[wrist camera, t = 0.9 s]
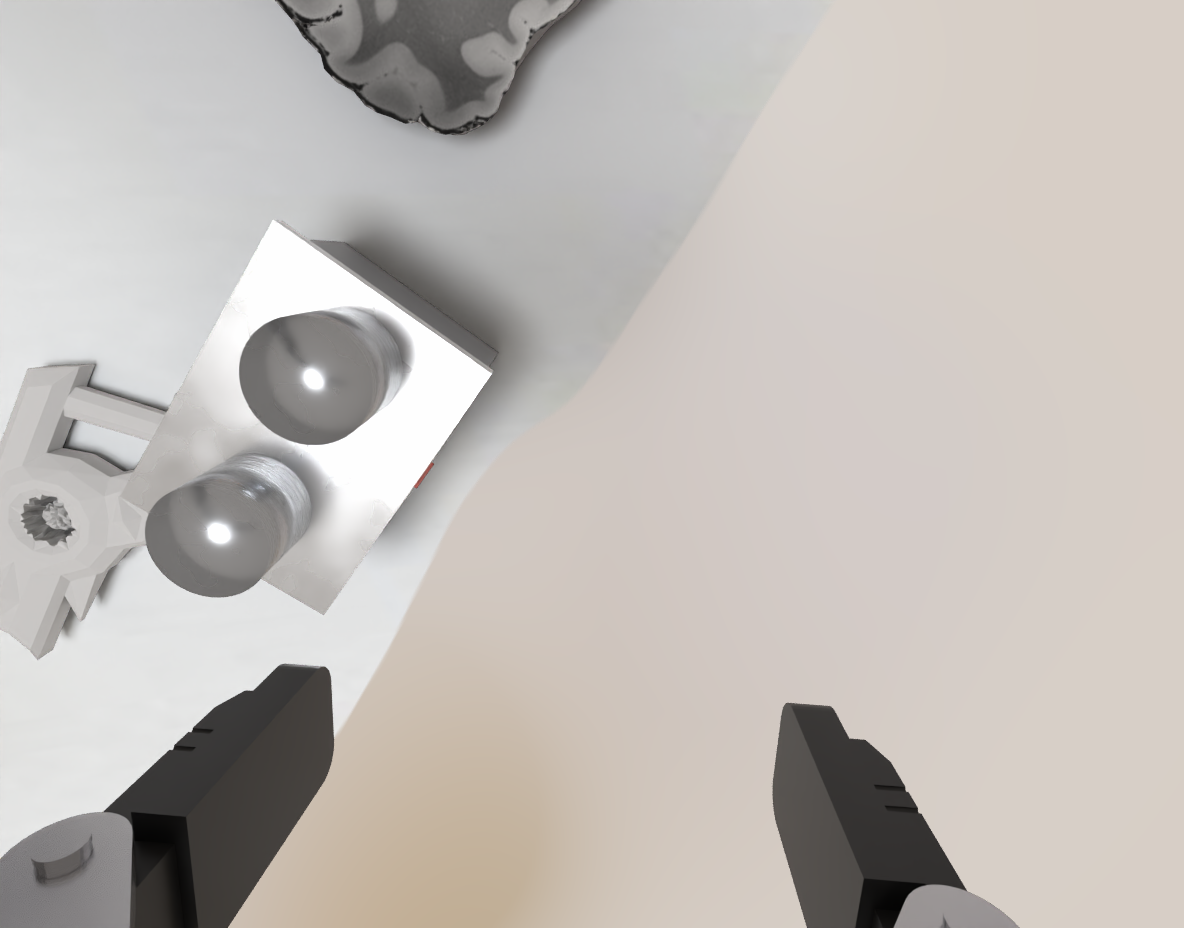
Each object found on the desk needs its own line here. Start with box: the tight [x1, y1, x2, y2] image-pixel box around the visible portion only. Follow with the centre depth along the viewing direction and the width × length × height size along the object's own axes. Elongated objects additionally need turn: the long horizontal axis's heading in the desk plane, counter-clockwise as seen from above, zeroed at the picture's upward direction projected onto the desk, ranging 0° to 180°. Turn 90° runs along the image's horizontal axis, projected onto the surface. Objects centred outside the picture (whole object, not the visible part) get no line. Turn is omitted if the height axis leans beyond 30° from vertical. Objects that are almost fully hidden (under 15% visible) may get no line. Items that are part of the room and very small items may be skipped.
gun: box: [0, 364, 177, 660], centre depth 35 cm, size 18×3×10 cm
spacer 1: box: [145, 454, 312, 597], centre depth 26 cm, size 5×5×4 cm
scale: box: [310, 240, 498, 523], centre depth 31 cm, size 13×10×6 cm
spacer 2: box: [239, 307, 403, 445], centre depth 24 cm, size 5×5×4 cm
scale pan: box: [120, 220, 494, 615], centre depth 27 cm, size 14×10×1 cm
